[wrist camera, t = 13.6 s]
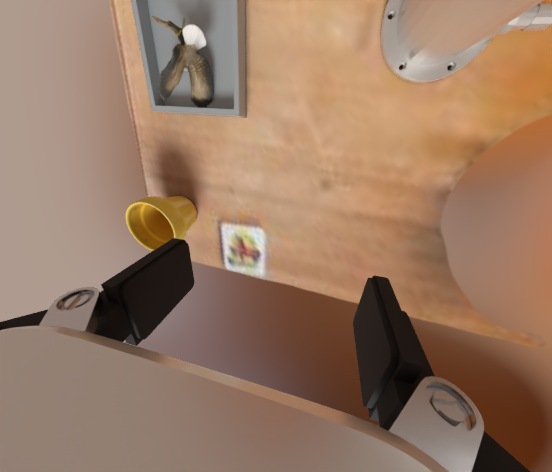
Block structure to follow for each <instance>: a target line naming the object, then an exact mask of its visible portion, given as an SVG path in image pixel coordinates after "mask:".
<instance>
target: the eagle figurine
mask: <svg viewBox="0 0 552 472" xmlns="http://www.w3.org/2000/svg"><path fill="white" fill-rule="evenodd" d="M152 18H153V19H154V20H155V21H156V22H157V23H158V24H160V25H163V26H165V27H166V28H169V29H171V30H172V31H173V32H174V33H175V34H176V35H177V36H178V40H179V41H180V44H177V45H176V46H175V47H174V48H173V50H172V52H173V54H172V58H171V60H170V61H169V62H168V64H167V66H166V67H165V69H164V70H162V71H161V74H160V81H159V91H160V95H161V97H162V98H163V99H164V100H166V99H168V97H170V95H171V93H172V91H173V90H174V88H175V87H176V86H177V85H178V84H179V82H180V80H181V77H182V74H183V71H187V70H188V72H189V76H190V84H191V101H192V102H193V103H194V105H197V107H198V108H204V107H205V108H206V107H207V104H208V105H209V104H210V102H212V99H213V89H212V83H211V76H210V75H211V69H210V66H209V63H208V61H207V60H206V59H204V58H203V56H200V53H198V52H197V51H198V50H199V49H201V48H202V47H204V46H206V39H205V37H204V33H203V31H202V30H201V29H200V28H199V27H198V26H196V25H194V24H189V25H186V26H185V19H184V18H183V21H182V28H180V27H178V26H177V25H175V24H174V23H173V22H171V21H168V22H166V21H163V20H161V19H159V18H157V17H155V16H152Z"/></svg>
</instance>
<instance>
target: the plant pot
mask: <svg viewBox="0 0 552 472" xmlns="http://www.w3.org/2000/svg"><path fill="white" fill-rule="evenodd" d="M196 218H197V211H196V208H195V206H194V205H193V203H192V202H191V201H190V200H188V199H187V198H185V197H182V196H176V197H167V198H161V197H147V198H144V199H141V200H138V201H136V202H134V203H132V204H131V205H130V206H129V207H128V209H127V211H126V223H127V226H128V228H129V230H130V232H131V234H132V235H133V237H134V238H135V239H136V240H137V241H138V242H139V243H140V244H141V245H143V246H144V247H145V248H147V249H149V250H152V251H154V250H155V249H157V248H159V247H160V246H162V245H163V244H165V243H166V242H168V241H169V240H171V239H173V238H177V239H182V240H183V239H184V238H185V236H186V232H187V231H188V229H189V228H190V227H191V226H192V224H193V223H194V222H195V221H196Z"/></svg>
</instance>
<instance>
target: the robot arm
mask: <svg viewBox="0 0 552 472" xmlns="http://www.w3.org/2000/svg"><path fill="white" fill-rule="evenodd" d="M542 1H543V0H388V3H387V5H386V8H385V12H384V16H383V20H382V25H381V34H380V36H381V49H382V53H383V57H384V59H385V61H386V63H387V66H388V67H389V68H390V69H391V71H392V72H393V73H394V74H395V75H397V76H398V77H399V78H401V79H403V80H406V81H408V82H413V83H428V82H433V81H436V80H440V79H442V78H444V77H447V76H449V75H451V74H453V73H455V72H456V71H458V70H460V69H462V68H463V67H464V66H466V65H467V64H468V63H470V62H471V61H472V60H473V59H474V58H475V57H477V56H478V55H479V54H480V53H481V52H482V51H483V50H484V49H485V47H486V46H487V45H488V44H489V43H490V41H491V40H492V39H493V38H494V36H496V35H505V34H507V33H508V32H509V31H510V30H521V31H542V30H544V29H546V28H547V27H548V26H549V25H551V24H552V2H550V3H540V2H542ZM388 16H392V19H391V20H390V19H388ZM399 66H402V70H399ZM448 66H450V70H449V71H448V69H447V67H448ZM101 285H102V287H103V289H104V290H103V291H102V292H99V290H98V289H97V288H94V287H86V288H79V289H76V290H73V291H71V292H68V293H66V294H64V295H62V296H61V297H59V298H58V299H57V300H55V301H54V303H53V304H52V305H51V307H50V308H49V309H48V310H45V311H41V312H37V313H33V314H30V315H26V316H22V317H18V318H14V319H11V320H7V321H3V322H0V472H530V471H528V469H526V468H525V467H524V466H523V465H522V464H521V463H520V462H518V461H517V460H516V459H515V458H514V457H513V456H512V455H510V454H509V453H508V452H507V451H506V450H505V449H504V448H503V447H502V446H500V445H499V444H498V443H497V442H496V441H495V440H494V439H492V438H491V437H490V436H489V435H488V434H487V433H486V432H485V431H484V423H483V420H482V417H481V414H480V413H479V411H478V410H477V408H476V406H475V405H474V403H473V402H472V401H471V400H470V399H469V398H468V396H467V395H466V394H465V393H463V392H462V391H461V390H460V389H459V388H458V387H456V386H455V385H453V384H452V383H450V382H449V381H446V380H444V379H442V378H439V377H435V376H434V374H433V372H432V369H431V367H430V365H429V363H428V360H427V358H426V356H425V353H424V351H423V349H422V347H421V344H420V342H419V340H418V337H417V335H416V333H415V330H414V328H413V326H412V324H411V321H410V319H409V317H408V315H407V313H406V312H404V311H401V308H400V306H399V303H398V301H397V299H396V296H395V294H394V291H393V289H392V286H391V284H390V282H389V279H388V278H385V277H379V276H373V277H372V278H368V280H367V282H366V285H365V288H364V291H363V294H362V297H361V300H360V302H359V305H358V308H357V311H356V314H355V317H354V321H353V327H354V334H355V343H356V351H357V359H358V367H359V375H360V383H361V392H362V399H363V404H364V406H365V407H367V408H368V410H369V416H370V417H369V418H370V419H372V420H376V421H379V423H380V427H379V426H377V425H375V424H372V423H370V422H367V421H365V420H362V419H359V418H356V417H354V416H352V415H349V414H346V413H343V412H340V411H337V410H334V409H332V408H329V407H326V406H323V405H319V404H317V403H314V402H311V401H308V400H305V399H302V398H299V397H296V396H292V395H289V394H286V393H283V392H280V391H277V390H274V389H271V388H267V387H264V386H261V385H258V384H255V383H252V382H249V381H245V380H242V379H239V378H236V377H233V376H230V375H226V374H223V373H220V372H217V371H214V370H211V369H207V368H204V367H201V366H198V365H194V364H191V363H188V362H185V361H182V360H179V359H175V358H172V357H169V356H166V355H163V354H159V353H156V352H152V351H149V350H146V349H143V348H140V347H136V346H137V345H138V344H139V343H140V342H141V341H142V340H143V339H145V338H147V337H148V336H149V335H150V334H151V333H152V331H153V330H154V329H155V328H156V327H157V326H158V325H159V324H160V323H161V322H162V320H163V319H164V318H165V317H166V316H167V315H168V314H169V313H170V312H171V311H172V309H173V308H174V307H175V306H176V305H177V304H178V303H179V302H180V301H181V300H182V299H183V297H184V296H185V295H186V294H187V293H188V292H189V291H190V290H191V289H192V287H193V285H194V277H193V271H192V265H191V258H190V252H189V246H188V244H187V243H186V241H185V240H182V239H177V238H173V239H171V240H169V241H168V242H166V243H165V244H163V245H162V246H160V247H159V248H157V249H155V250H154V251H152V252H151V253H149V254H148V255H146V256H145V257H143V258H141V259H140V260H138V261H137V262H135V263H134V264H132V265H131V266H129V267H128V268H126V269H124V270H123V271H121V272H120V273H118V274H117V275H115V276H114V277H112V278H110V279H109V280H107V281H106V282H104V283H103V284H101ZM124 340H126V342H127V343H129V344H127V343H123V341H124ZM130 344H132V345H130ZM133 345H135V346H133Z"/></svg>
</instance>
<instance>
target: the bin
mask: <svg viewBox="0 0 552 472" xmlns="http://www.w3.org/2000/svg"><path fill="white" fill-rule="evenodd" d="M131 3H132V8H133V13H134V19H135V24H136V29H137V34H138V40H139V45H140V50H141V56H142V61H143V66H144V71H145V77H146V82H147V87H148V93H149V98H150V103H151V108H152V111H156V112H163V113H177V114H195V115H212V116H229V117H246V0H131ZM152 16H155V17H157V18H159V19H161V20H163V21H166V22H168V21H171V22H173V23H174V24H175V25H177V26H178V27H180V28H182V21H183V18H184V19H185V26H186V25H189V24H194V25H196V26H198V27H199V28H200V29H201V30H202V31H203V33H204V37H205V39H206V46H204V47H202V48H201V49H199V50H198V51H197V52H198V53H200V56H203V58H204V59H206V60H207V61H208V63H209V66H210V69H211V75H210V76H211V83H212V89H213V99H212V102H210V104H209V105H208V104H207V107H206V108H205V107H204V108H198V107H197V105H194V103H193V102H192V101H191V84H190V76H189V72H188V70H187V71H183V74H182V77H181V80H180V82H179V84H178V85H177V86H176V87H175V88H174V90H173V91H172V93H171V95H170V97H168V99H166V100H164V99H163V98H162V97H161V95H160V91H159V81H160V74H161V71H162V70H164V69H165V67H166V66H167V64H168V62H169V61H170V60H171V58H172V54H173V52H172V50H173V48H174V47H175V46H176V45H177V44H180V41H179V40H178V36H177V35H176V34H175V33H174V32H173V31H172V30H171V29H169V28H166V27H165V26H163V25H160V24H158V23H157V22H156V21H155V20H154V19H153V18H152Z"/></svg>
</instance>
